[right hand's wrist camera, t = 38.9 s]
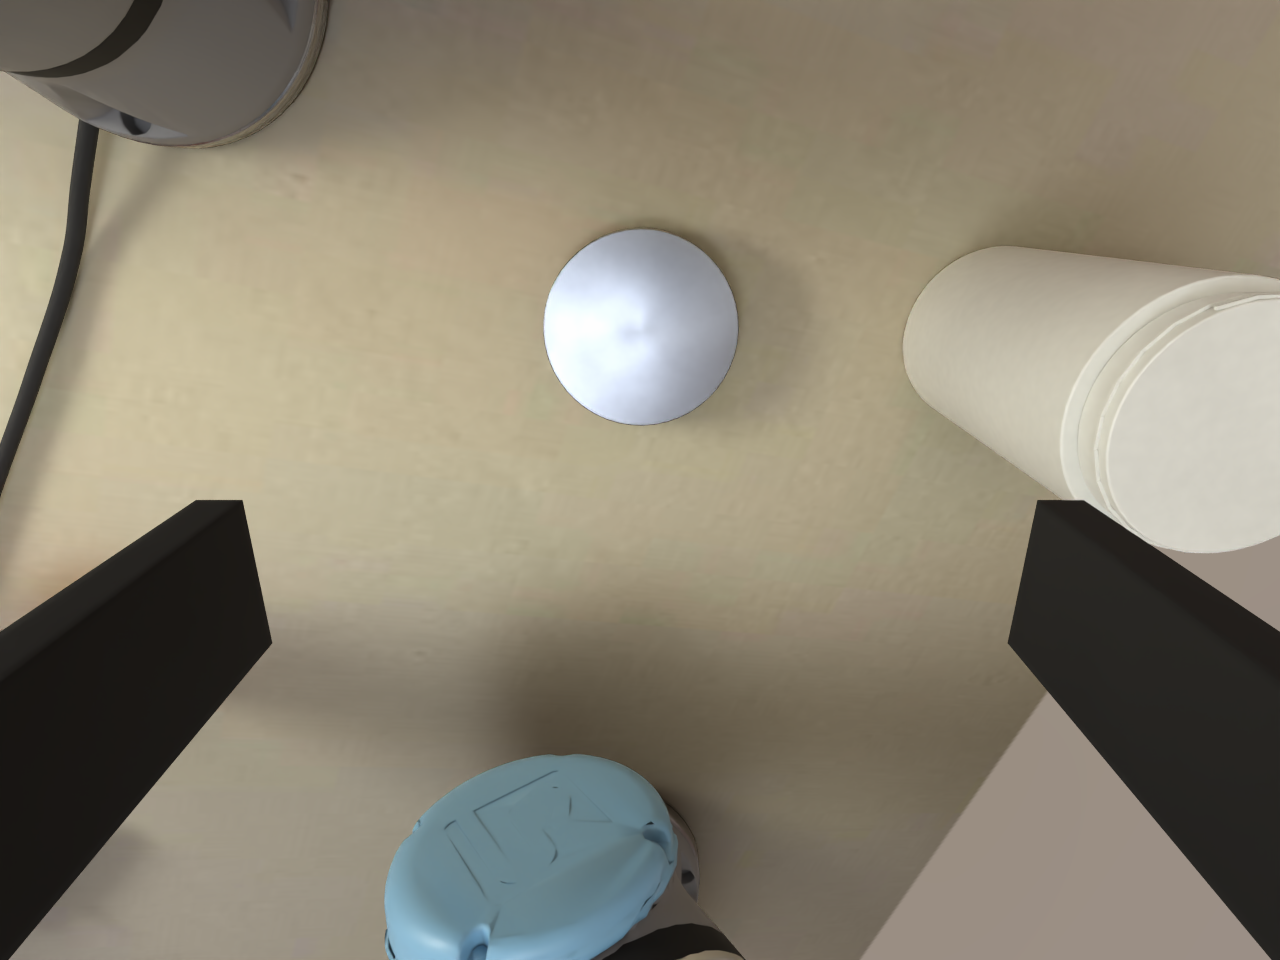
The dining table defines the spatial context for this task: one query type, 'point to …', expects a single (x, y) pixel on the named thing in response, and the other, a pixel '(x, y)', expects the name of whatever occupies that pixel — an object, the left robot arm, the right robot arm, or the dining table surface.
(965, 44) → the dining table surface
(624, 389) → the lid
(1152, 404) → the jar
